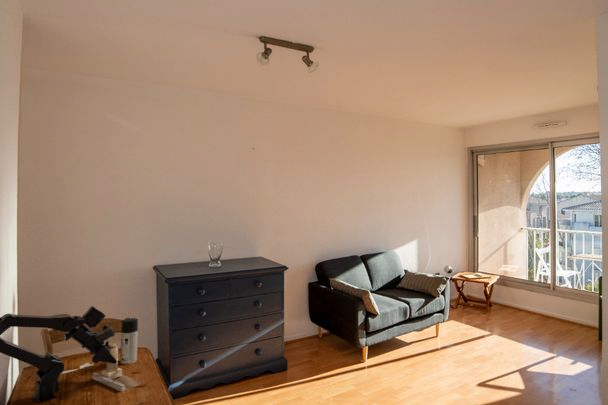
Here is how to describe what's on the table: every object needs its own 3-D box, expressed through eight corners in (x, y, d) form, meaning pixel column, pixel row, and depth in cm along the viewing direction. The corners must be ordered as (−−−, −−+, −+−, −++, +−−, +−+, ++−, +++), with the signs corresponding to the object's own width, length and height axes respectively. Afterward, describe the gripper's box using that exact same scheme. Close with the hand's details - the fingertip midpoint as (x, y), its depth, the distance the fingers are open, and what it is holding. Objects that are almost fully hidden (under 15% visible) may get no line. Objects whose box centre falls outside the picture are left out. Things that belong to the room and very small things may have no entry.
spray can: (120, 363, 176) (121, 318, 177) (136, 360, 179) (137, 317, 179) (120, 368, 170) (121, 322, 171) (137, 365, 173) (138, 320, 173)
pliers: (50, 374, 161) (83, 361, 175) (50, 378, 161) (83, 364, 174) (66, 378, 157) (99, 365, 170) (65, 382, 157) (98, 368, 170)
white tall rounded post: (108, 380, 153) (109, 348, 154) (101, 377, 156) (102, 345, 156) (121, 375, 158) (122, 344, 158) (115, 372, 161) (115, 341, 161)
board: (121, 395, 145) (121, 386, 145) (92, 382, 156) (92, 373, 156) (142, 386, 152) (143, 377, 153) (114, 374, 163) (114, 366, 163)
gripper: (102, 327, 147) (133, 351, 152) (101, 315, 164) (129, 337, 169) (78, 351, 143) (111, 375, 148) (79, 337, 160) (109, 359, 165)
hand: (116, 360), depth 158 cm, fingers closed on white tall rounded post, 4 cm apart
